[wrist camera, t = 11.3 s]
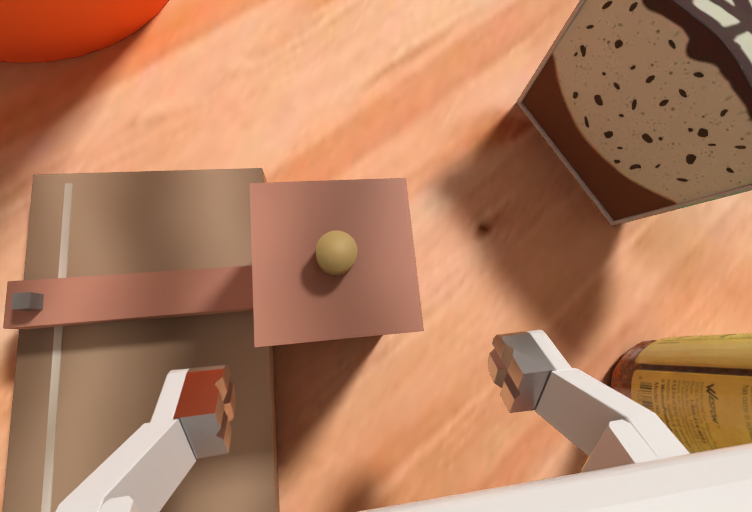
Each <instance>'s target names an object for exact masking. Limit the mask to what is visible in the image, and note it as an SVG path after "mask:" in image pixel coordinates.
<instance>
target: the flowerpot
mask: <svg viewBox="0 0 752 512" xmlns="http://www.w3.org/2000/svg"><path fill="white" fill-rule="evenodd" d="M168 1H169V0H0V61H4V62H11V63H26V62H51V61H56V60H62V59H68V58H73V57H79V56H82V55H85V54H88V53H91V52H94V51H97V50H100V49H103V48H106V47H109V46H111V45H113V44H115V43H117V42H118V41H120V40H122V39H124V38H126V37H128V36H129V35H131V34H133V33H135V32H136V31H138V30H139V29H140V28H141V27H143V26H144V25H145V24H146V23H148V22H149V21H150V20H151V19H153V18H154V17H155V16H156V15H157V14H158V13H159V12H160V11H161V9H162V8H163V7H164V6H165V4H166V3H167V2H168Z"/></svg>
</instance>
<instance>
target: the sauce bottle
mask: <svg viewBox="0 0 752 512" xmlns="http://www.w3.org/2000/svg"><path fill="white" fill-rule="evenodd" d="M610 387H611V388H612V389H614V390H616V391H617V392H619V393H621V394H622V395H624V396H626V397H628V398H629V399H631V400H633V401H635V402H636V403H638V404H640V405H642V406H643V407H645V408H647V409H649V410H650V411H652V412H654V413H655V414H656V415H657V416H658V417H659V418H660V419H661V420H662V422H663V423H664V424H665V425H666V426H667V427H668V429H669V430H670V431H671V432H672V433H673V434H674V435H675V437H676V438H677V439H678V440H679V441H680V442H681V444H682V445H683V446H684V447H685V448H686V449H687V451H688V452H689V453H690V454H691V453H697V452H703V451H708V450H714V449H720V448H725V447H731V446H737V445H742V444H748V443H752V333H746V334H728V335H706V336H687V337H670V338H664V339H661V340H658V341H657V340H651V341H644V342H641V343H639V344H637V345H636V346H634V347H633V348H631V349H629V350H628V351H627V353H626V354H625V355H624V356H623V357H622V358H621V359H620V361H619V363H618V364H617V365H616V366H615V369H614V370H613V374H612V378H611V385H610Z"/></svg>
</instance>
